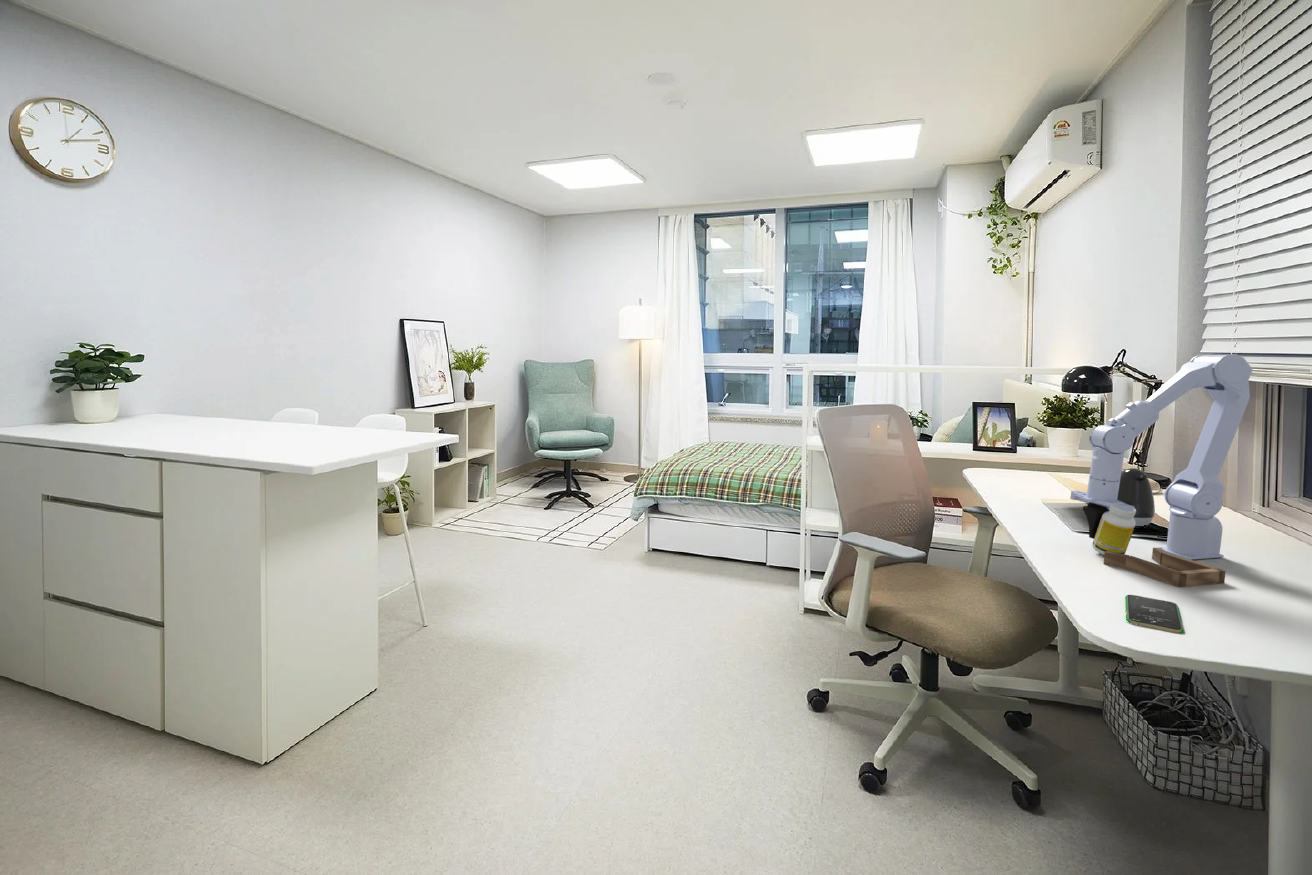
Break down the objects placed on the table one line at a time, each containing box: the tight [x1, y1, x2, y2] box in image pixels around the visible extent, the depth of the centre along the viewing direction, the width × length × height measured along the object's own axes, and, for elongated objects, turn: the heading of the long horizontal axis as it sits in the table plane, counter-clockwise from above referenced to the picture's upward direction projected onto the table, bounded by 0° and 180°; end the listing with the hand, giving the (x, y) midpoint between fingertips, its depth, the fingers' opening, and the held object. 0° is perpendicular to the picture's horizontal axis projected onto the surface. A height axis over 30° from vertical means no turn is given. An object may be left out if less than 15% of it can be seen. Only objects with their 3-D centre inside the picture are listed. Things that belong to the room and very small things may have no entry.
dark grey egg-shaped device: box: [1117, 467, 1156, 526], centre depth 169 cm, size 10×10×15 cm
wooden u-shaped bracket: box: [1103, 547, 1227, 588], centre depth 135 cm, size 15×15×2 cm
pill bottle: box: [1091, 502, 1136, 556], centre depth 145 cm, size 6×6×11 cm
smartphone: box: [1124, 594, 1185, 634], centre depth 113 cm, size 8×1×15 cm
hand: (1095, 538), depth 149 cm, fingers closed, pressing on pill bottle
